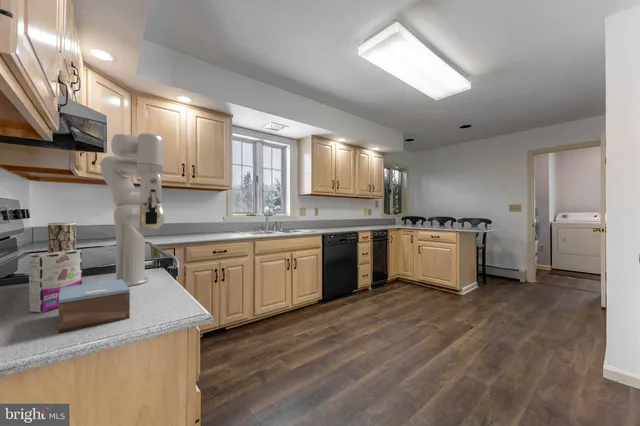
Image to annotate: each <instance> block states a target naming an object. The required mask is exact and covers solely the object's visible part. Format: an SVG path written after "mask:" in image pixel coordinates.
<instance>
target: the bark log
mask: <svg viewBox="0 0 640 426" xmlns="http://www.w3.org/2000/svg"><path fill="white" fill-rule="evenodd" d="M68 250H77V222H48V223H47V253H53V252H60V251H68Z"/></svg>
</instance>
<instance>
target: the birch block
mask: <svg viewBox="0 0 640 426" xmlns="http://www.w3.org/2000/svg"><path fill="white" fill-rule="evenodd" d="M146 212H147V205H140V225H139V228H138V229H141V230H156V229H157V230H159V229H160V226H159V218H160V206H158V205H157V224H146Z"/></svg>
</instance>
